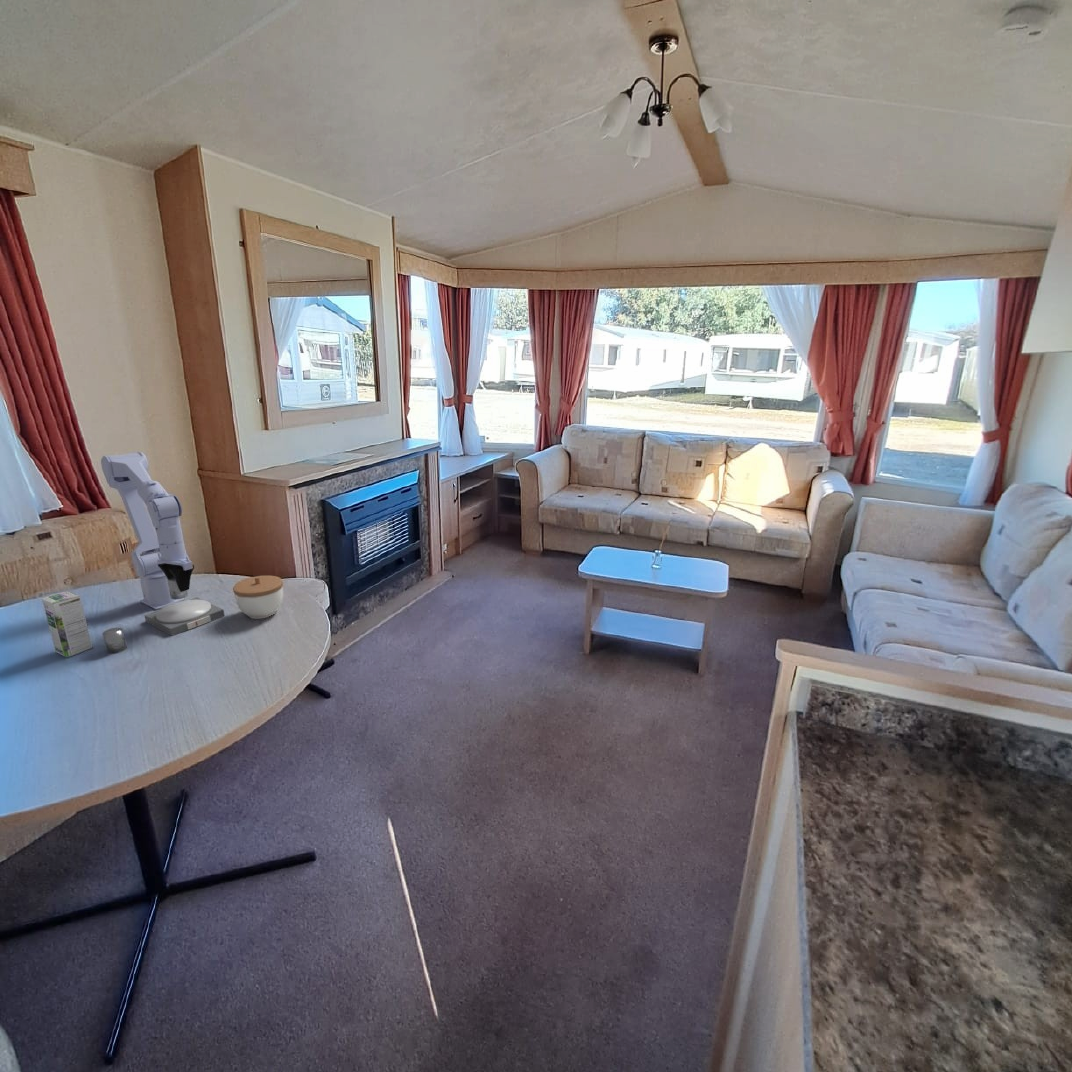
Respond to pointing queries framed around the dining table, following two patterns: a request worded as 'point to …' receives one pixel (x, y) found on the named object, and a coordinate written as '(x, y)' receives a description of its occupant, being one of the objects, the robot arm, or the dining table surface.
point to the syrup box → (67, 623)
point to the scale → (184, 615)
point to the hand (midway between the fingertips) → (180, 588)
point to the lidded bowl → (259, 596)
